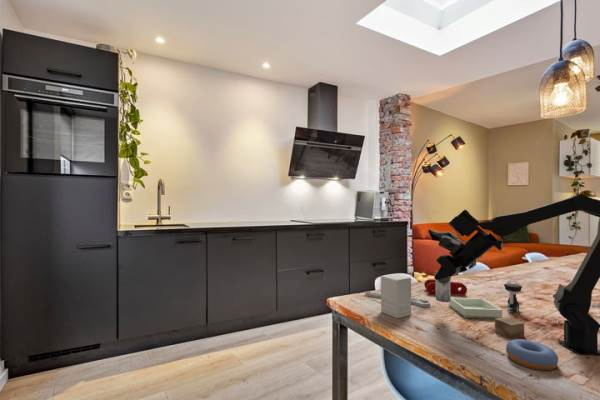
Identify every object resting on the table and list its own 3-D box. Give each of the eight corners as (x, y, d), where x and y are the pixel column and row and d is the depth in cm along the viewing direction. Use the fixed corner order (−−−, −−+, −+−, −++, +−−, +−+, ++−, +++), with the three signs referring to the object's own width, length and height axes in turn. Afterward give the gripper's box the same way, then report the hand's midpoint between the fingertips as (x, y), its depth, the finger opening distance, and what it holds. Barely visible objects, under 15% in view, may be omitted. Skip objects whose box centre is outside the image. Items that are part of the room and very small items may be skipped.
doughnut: (550, 377, 65) (550, 354, 66) (499, 360, 73) (498, 340, 74) (564, 367, 71) (563, 347, 71) (515, 353, 79) (514, 334, 79)
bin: (502, 319, 99) (502, 309, 99) (464, 317, 100) (464, 308, 100) (482, 306, 111) (482, 298, 111) (449, 305, 112) (449, 297, 112)
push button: (518, 315, 102) (517, 286, 102) (500, 311, 106) (500, 283, 107) (524, 311, 106) (524, 283, 107) (506, 307, 111) (506, 280, 111)
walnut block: (524, 337, 86) (524, 323, 86) (511, 339, 84) (511, 325, 84) (507, 330, 91) (507, 316, 91) (494, 332, 89) (494, 318, 89)
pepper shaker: (452, 303, 96) (452, 274, 96) (436, 301, 97) (435, 273, 97) (449, 298, 100) (449, 271, 100) (434, 297, 102) (433, 270, 102)
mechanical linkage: (427, 294, 127) (427, 282, 127) (424, 290, 134) (424, 278, 134) (468, 297, 123) (468, 285, 123) (463, 293, 130) (463, 281, 130)
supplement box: (411, 315, 102) (412, 277, 102) (396, 319, 98) (396, 280, 99) (395, 308, 108) (395, 273, 109) (380, 311, 105) (380, 275, 105)
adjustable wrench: (364, 296, 124) (363, 292, 124) (370, 293, 129) (370, 289, 129) (428, 309, 109) (428, 304, 109) (432, 304, 114) (432, 300, 114)
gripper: (465, 226, 103) (433, 255, 110) (443, 229, 90) (408, 261, 98) (492, 252, 97) (456, 280, 104) (472, 259, 84) (433, 290, 92)
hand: (438, 277), depth 100 cm, fingers closed on pepper shaker, 5 cm apart
